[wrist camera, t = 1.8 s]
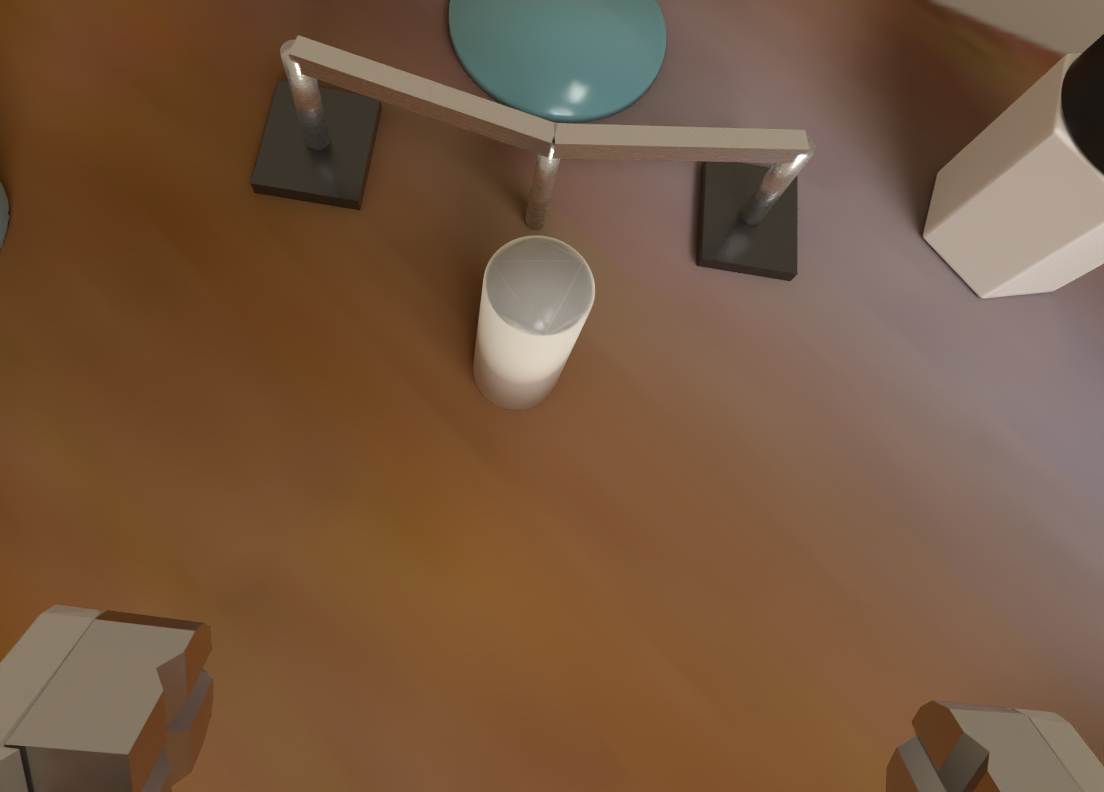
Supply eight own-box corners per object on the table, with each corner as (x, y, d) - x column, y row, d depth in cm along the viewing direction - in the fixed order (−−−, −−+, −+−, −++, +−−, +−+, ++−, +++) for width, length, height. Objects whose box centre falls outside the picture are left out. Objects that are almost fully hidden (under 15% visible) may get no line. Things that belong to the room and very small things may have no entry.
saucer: (619, -68, 44) (621, -77, 43) (695, 99, 41) (699, 91, 40) (421, -38, 41) (420, -47, 40) (488, 143, 38) (489, 135, 38)
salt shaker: (541, 320, 36) (572, 224, 27) (569, 396, 35) (610, 321, 26) (461, 342, 35) (468, 250, 26) (488, 420, 34) (504, 351, 25)
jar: (1092, 253, 42) (1335, 114, 30) (1007, 332, 39) (1236, 213, 28) (979, 139, 43) (1172, -35, 32) (890, 209, 41) (1064, 47, 29)
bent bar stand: (790, 181, 40) (859, 93, 34) (790, 281, 38) (862, 208, 32) (281, 90, 37) (247, -25, 31) (254, 192, 36) (212, 93, 29)
